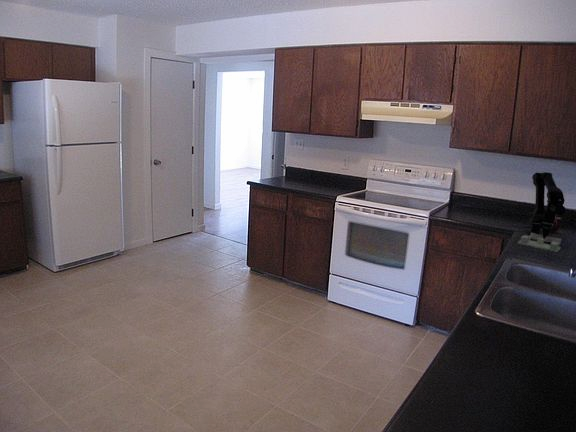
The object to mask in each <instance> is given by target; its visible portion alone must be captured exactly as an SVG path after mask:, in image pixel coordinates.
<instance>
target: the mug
mask: <svg viewBox="0 0 576 432" xmlns="http://www.w3.org/2000/svg"><path fill="white" fill-rule="evenodd" d="M555 219H556V220H557V224H556V226H555V227H554V229H553V230H552V231H551V233H550V234H556V232H557V231H558V230H559V227H560V225H561V223H562V217H559V216H556V218H555ZM554 225H555V224H554Z"/></svg>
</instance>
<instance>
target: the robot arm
mask: <svg viewBox="0 0 576 432" xmlns="http://www.w3.org/2000/svg"><path fill="white" fill-rule="evenodd" d="M532 184H533V186H534V187H535V209H534V211H533V212H532V213H531V214H532V215H531V216H530V217H529V218H528V221H527V222H528V224H529V225H530V229H529V232H527V233H528V235H530V234H531V233H535V234H540V235H543V238H544V239H545V238H546V237H547V236H550V234H552V233H551V231H552V230H553V229H554V227H555V226H556V224H557V220H556V219H555V218H556V217H558V216H562V215H563V216H564V214H565V213H566V210H567V209H566V207H565V206H564V205H565V196H564V192H563V191H562V189H561V188H559V187H558V186H557V185H556V182H555V179H554V177H553V173H551V172H546V171H545V172H535V173H534V174H533V175H532ZM545 188H546V189H547V192H546V197H547V198H546V199H547V200H546V203H547V205H546V208H545ZM554 224H555V225H554ZM541 230H542V233H541Z"/></svg>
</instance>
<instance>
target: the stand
mask: <svg viewBox="0 0 576 432" xmlns="http://www.w3.org/2000/svg"><path fill="white" fill-rule="evenodd" d="M529 237H530V235H525V234H524V235H522V236H520V240H519V241H517V245H522V246H527V247H530V246H531V247H532V248H535V249H539V248H540V249H539V250H543V249H544V251H548V250H550V251H549V252H552V251H554V252H553V253H556V252H557V253H558V252H559V251H560V250H561V248H562V247H561V246H560V245H559V243H558V242H552V243H550V244H548V243H545V241H544V239H542V238H538V239H537V240H531V239H530V240H529ZM558 245H559V246H558Z"/></svg>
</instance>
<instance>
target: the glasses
mask: <svg viewBox="0 0 576 432" xmlns="http://www.w3.org/2000/svg"><path fill="white" fill-rule="evenodd" d="M540 234H541V233H540ZM540 234H535V233H531V234H529V236H530V237H529V240H531V239H532V240H533V241H537V239H538V238H542V239H544V238H543V234H541V235H540ZM545 242H546V243H549V242H550V244H551V243H552V242H558V243H559V245H558V247H560V245H561V242H562V238H557V237H553V236H550V235H548V236H547V237H546V238H545V239H544V243H545Z"/></svg>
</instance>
